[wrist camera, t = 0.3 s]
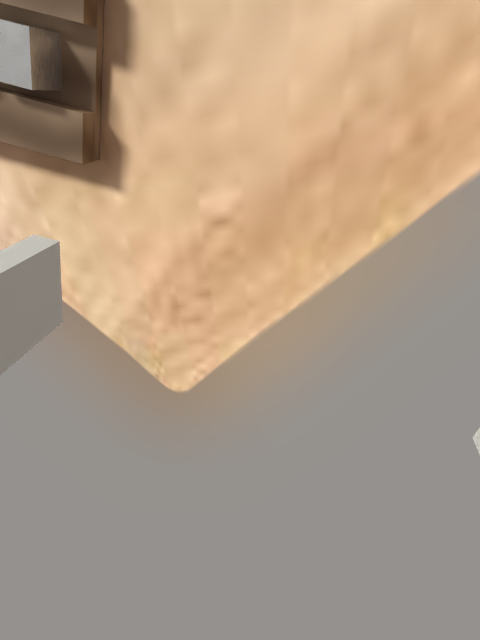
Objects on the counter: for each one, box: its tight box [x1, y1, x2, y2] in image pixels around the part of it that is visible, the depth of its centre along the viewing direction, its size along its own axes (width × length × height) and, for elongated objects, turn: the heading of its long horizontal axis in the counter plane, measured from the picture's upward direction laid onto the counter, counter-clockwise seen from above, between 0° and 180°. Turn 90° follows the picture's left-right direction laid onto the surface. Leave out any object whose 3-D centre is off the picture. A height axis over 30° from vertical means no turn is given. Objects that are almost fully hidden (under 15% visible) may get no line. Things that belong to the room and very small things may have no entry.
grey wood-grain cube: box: [0, 19, 62, 90], centre depth 31 cm, size 4×4×4 cm
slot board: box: [0, 0, 104, 164], centre depth 33 cm, size 14×14×3 cm
